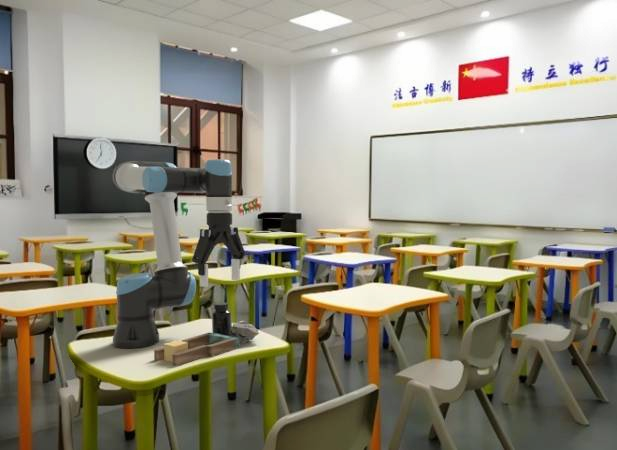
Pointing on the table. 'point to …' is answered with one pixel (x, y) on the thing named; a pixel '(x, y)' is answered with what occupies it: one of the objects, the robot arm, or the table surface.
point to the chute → (201, 348)
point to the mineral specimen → (243, 331)
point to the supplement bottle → (221, 319)
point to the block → (174, 349)
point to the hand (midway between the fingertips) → (220, 283)
